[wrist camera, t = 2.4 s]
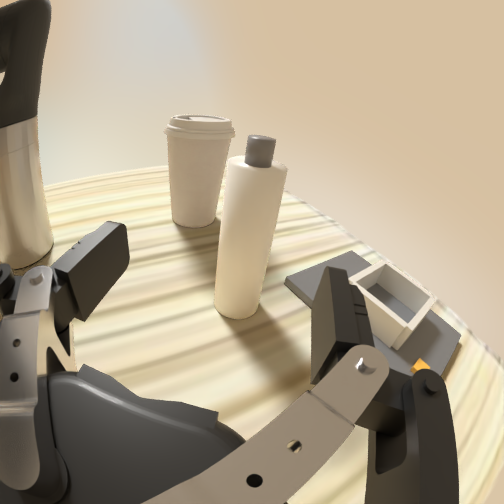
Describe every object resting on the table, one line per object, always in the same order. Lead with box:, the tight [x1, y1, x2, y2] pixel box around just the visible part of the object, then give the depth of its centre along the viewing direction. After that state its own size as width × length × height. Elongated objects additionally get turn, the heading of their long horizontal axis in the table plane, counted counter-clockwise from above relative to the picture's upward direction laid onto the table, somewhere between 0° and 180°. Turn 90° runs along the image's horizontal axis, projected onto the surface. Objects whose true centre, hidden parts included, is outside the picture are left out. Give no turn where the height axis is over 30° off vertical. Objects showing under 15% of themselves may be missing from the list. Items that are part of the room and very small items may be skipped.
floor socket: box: [284, 251, 461, 376], centre depth 27 cm, size 20×13×4 cm, turn 36°
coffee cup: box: [164, 115, 235, 228], centre depth 36 cm, size 10×10×15 cm
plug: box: [214, 135, 287, 319], centre depth 23 cm, size 4×4×16 cm
